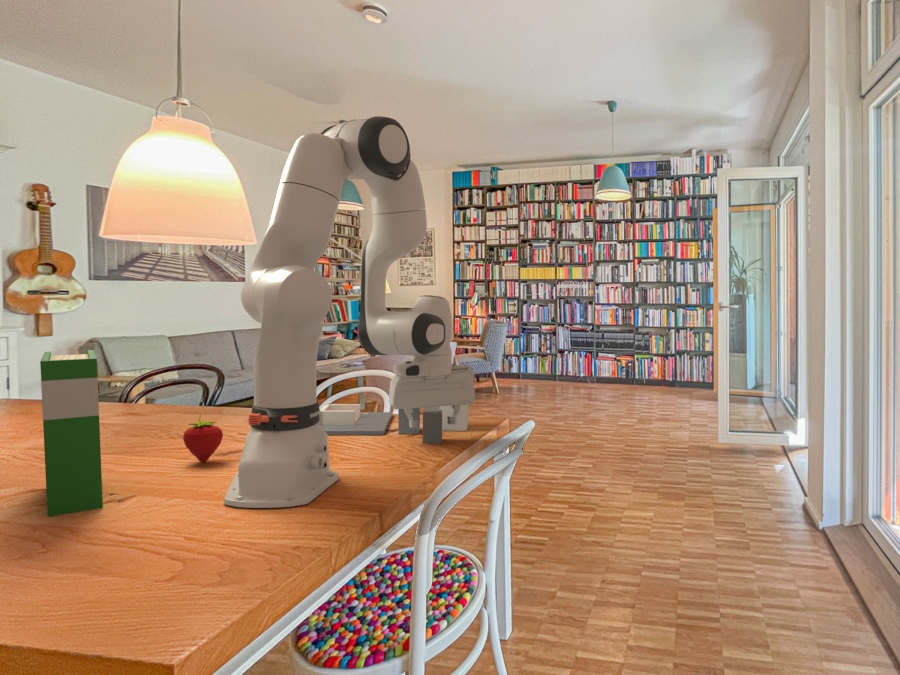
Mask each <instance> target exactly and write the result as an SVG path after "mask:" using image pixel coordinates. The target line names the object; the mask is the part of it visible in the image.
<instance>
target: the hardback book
mask: <svg viewBox="0 0 900 675" xmlns="http://www.w3.org/2000/svg"><path fill="white" fill-rule="evenodd" d="M97 358H98V357H97V355H96V353H95V350H94V349H87V353H83V354H82V353H81V354H59V355H56V354H55V355H52V351H44V353H43V354H42V356H41V358H40V362H39V364H40V366H39V367H40V384H41V402H42V403H41V404H42V405H41V407H42V425H43V445H44V446H43V448H44V449H43V450H44V451H43V452H44V468H45V488H46V492H45V493H46V509H47V511H46V514H47V517H57V516H62V515H69V514H74V513H80V512H82V513H83V512H86V511H93V510H94V511H95V510H99V509H103V508H104V505H103V504H104V501H103V481H102V480H103V479H102V477H103V476H102V474H103V473H102V456H101V455H102V454H101V451H102V450H101V432H100V431H101V430H100V428H101V427H100V426H101V424H100V407H99V380H98V379H99V378H98V359H97Z"/></svg>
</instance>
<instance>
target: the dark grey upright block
mask: <svg viewBox="0 0 900 675" xmlns="http://www.w3.org/2000/svg"><path fill="white" fill-rule="evenodd" d="M397 410H398V415H397V417H398V418H397V419H398V424H397V425H398V427H397V431H398V435H420V432H421V408H413V413H411V415H412V417H413V419H417V420H418V423H417V425H418V426H417V427H414V428H411V427H410V426H409V419H408V417H407V415H406V414H405V412H404V409H397Z"/></svg>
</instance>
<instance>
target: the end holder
mask: <svg viewBox="0 0 900 675" xmlns="http://www.w3.org/2000/svg"><path fill="white" fill-rule="evenodd" d="M363 413H368V414H363ZM319 417H320V420H319V422H318V424H319V426H320V427H321V429H322V430H323V431H324V432H326V433H327V435H328V436H384V435H385V433H386V431H387V429H388V427H387V426H389V424H390V423H391V422H390V421H391V420H392V418H393V412H392V411H361V403H360V404H359V403H326V404H324V405H323V407H321V408H320V414H319ZM386 428H387V429H386Z"/></svg>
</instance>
